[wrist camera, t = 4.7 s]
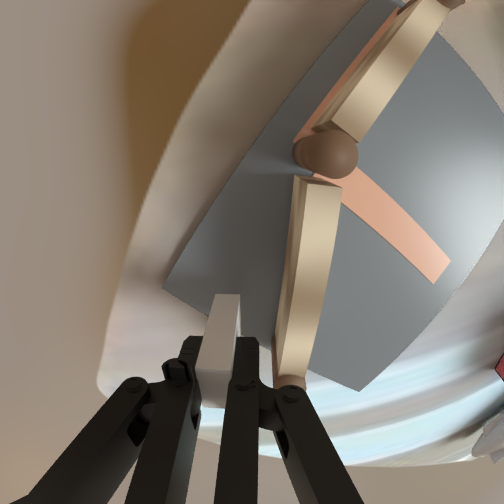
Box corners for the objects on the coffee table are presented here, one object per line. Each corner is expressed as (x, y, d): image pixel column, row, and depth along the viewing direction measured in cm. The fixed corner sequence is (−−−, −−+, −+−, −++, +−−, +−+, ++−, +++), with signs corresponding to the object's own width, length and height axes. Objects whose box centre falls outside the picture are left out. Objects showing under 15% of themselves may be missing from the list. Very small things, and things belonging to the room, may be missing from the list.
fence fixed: (402, 5, 11) (442, -28, 6) (423, 22, 12) (467, -4, 6) (285, 156, 16) (300, 158, 10) (312, 175, 16) (339, 189, 11)
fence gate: (291, 174, 16) (304, 184, 11) (323, 178, 16) (349, 189, 11) (269, 350, 20) (271, 399, 16) (295, 351, 20) (303, 400, 16)
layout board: (379, -11, 11) (382, -14, 11) (525, 161, 15) (530, 162, 14) (163, 283, 20) (161, 288, 19) (357, 387, 23) (359, 392, 23)
